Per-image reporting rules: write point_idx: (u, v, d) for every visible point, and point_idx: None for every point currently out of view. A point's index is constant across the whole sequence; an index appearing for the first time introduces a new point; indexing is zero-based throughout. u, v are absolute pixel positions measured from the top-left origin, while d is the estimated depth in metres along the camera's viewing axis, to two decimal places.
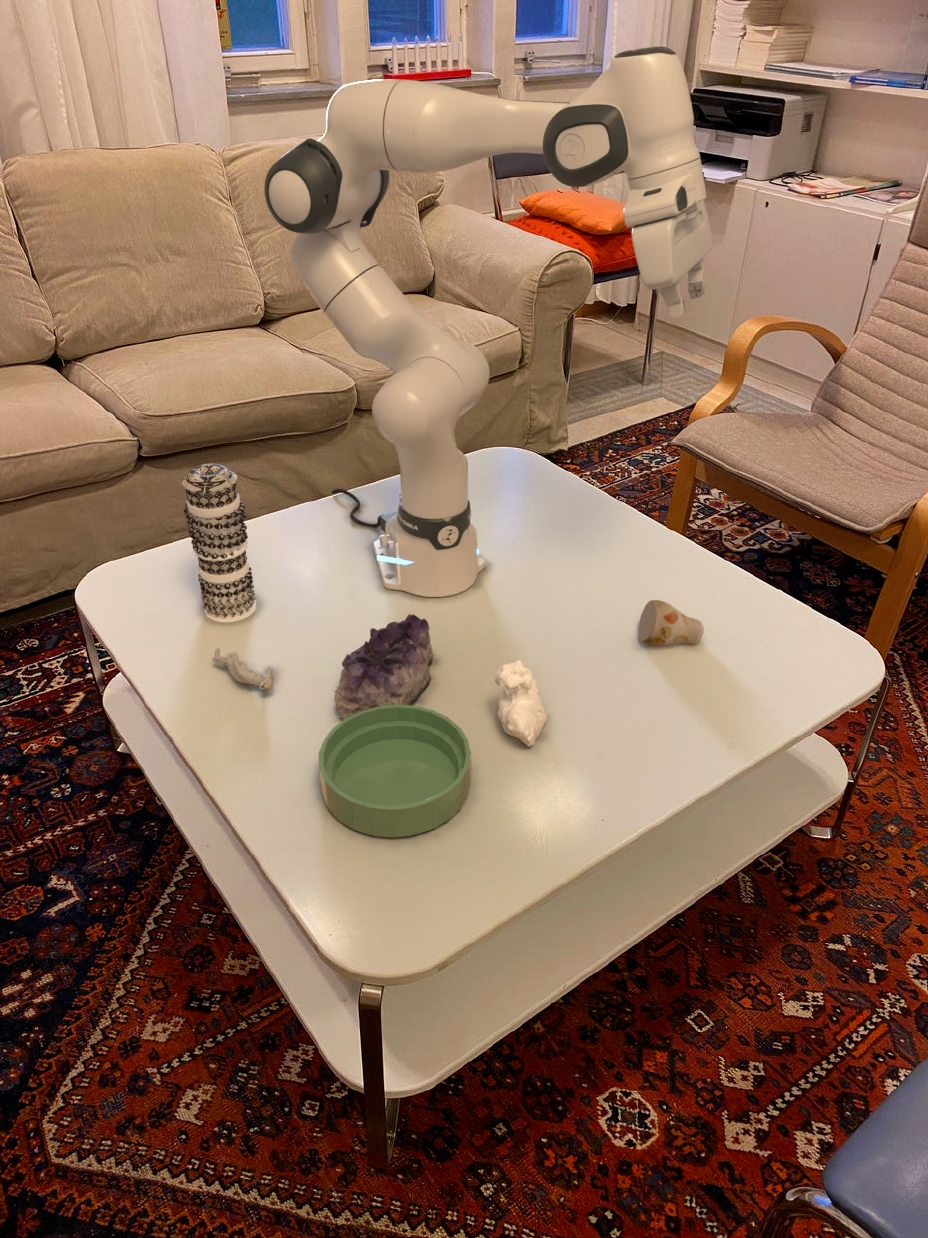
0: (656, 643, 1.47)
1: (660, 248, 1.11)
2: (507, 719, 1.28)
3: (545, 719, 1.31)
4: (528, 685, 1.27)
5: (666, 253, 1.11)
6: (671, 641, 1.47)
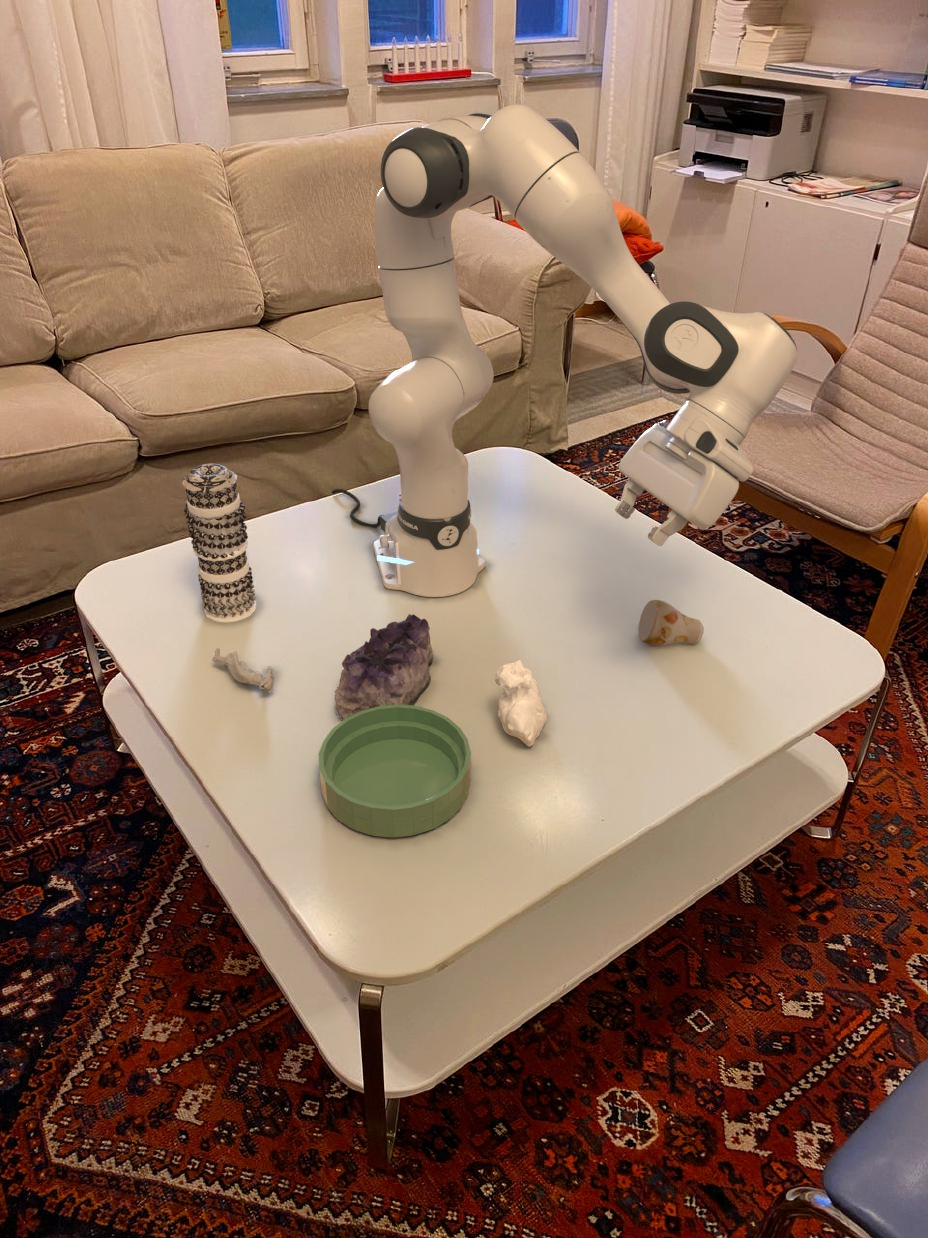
0: (656, 643, 1.47)
1: (724, 499, 1.14)
2: (507, 719, 1.28)
3: (545, 719, 1.31)
4: (528, 685, 1.27)
5: (724, 507, 1.14)
6: (671, 641, 1.47)
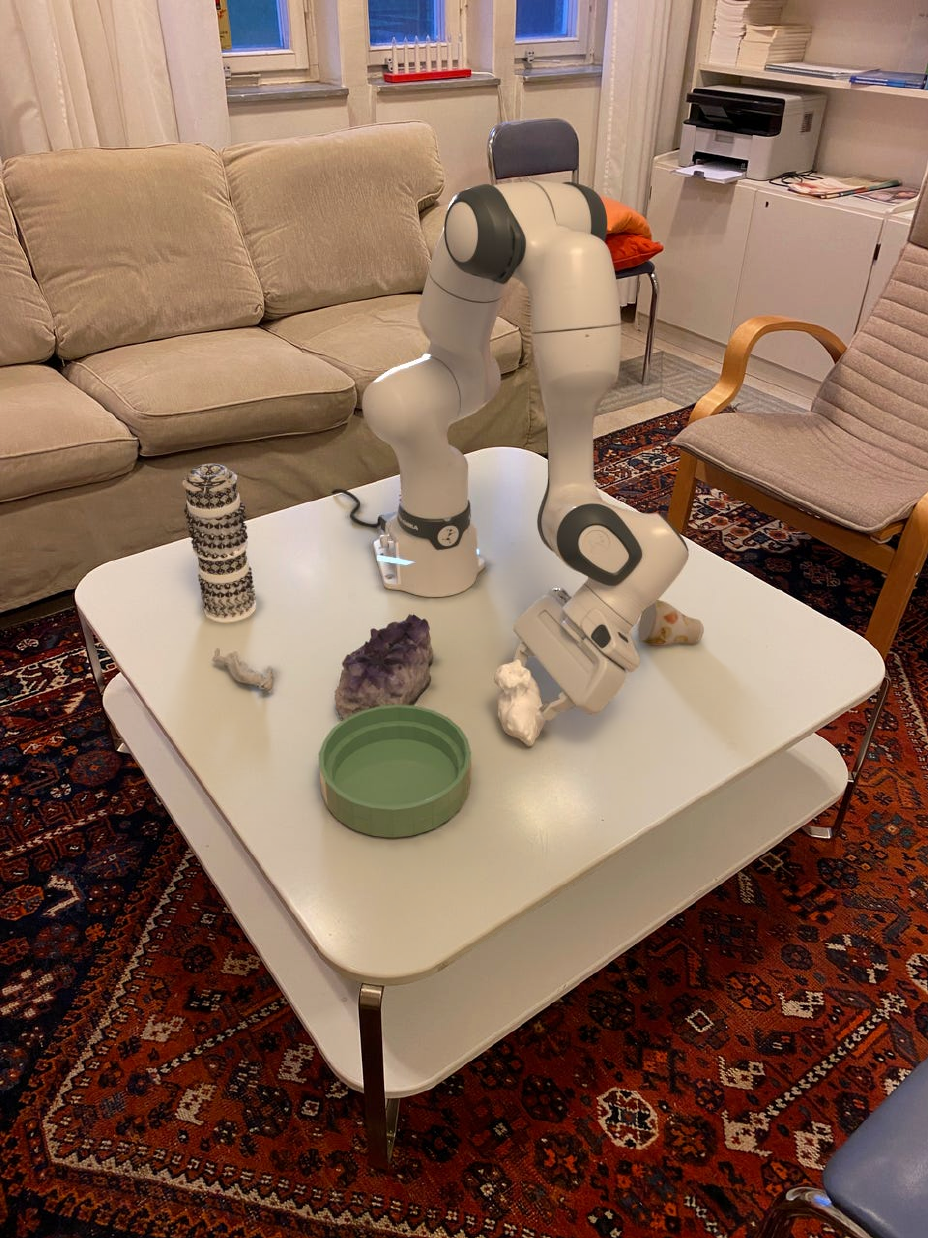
0: (656, 643, 1.47)
1: (612, 690, 1.22)
2: (506, 719, 1.28)
3: (545, 719, 1.31)
4: (527, 685, 1.27)
5: (612, 696, 1.23)
6: (671, 641, 1.47)
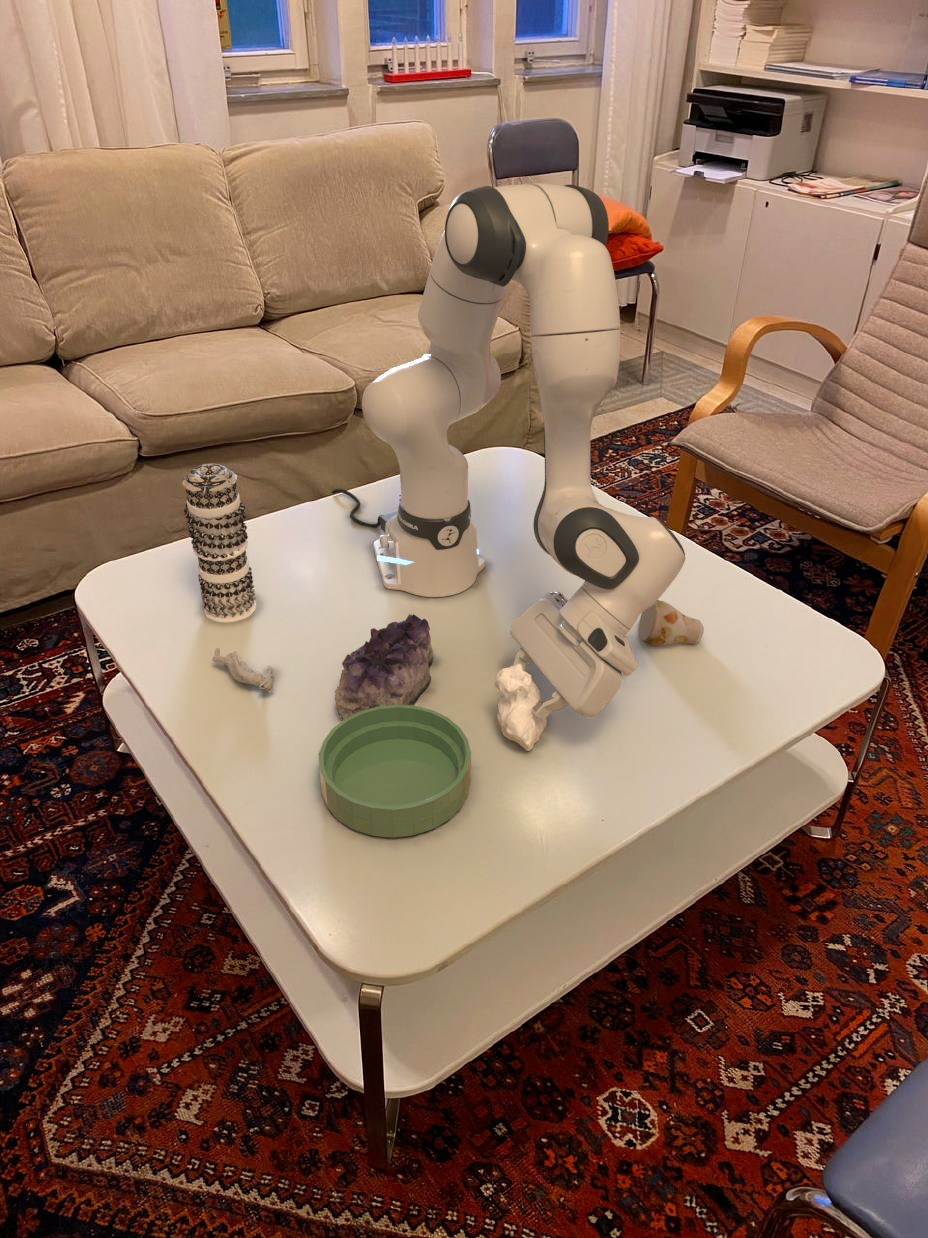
0: (656, 643, 1.47)
1: (609, 693, 1.22)
2: (506, 723, 1.27)
3: (545, 723, 1.31)
4: (527, 689, 1.27)
5: (608, 700, 1.23)
6: (671, 641, 1.47)
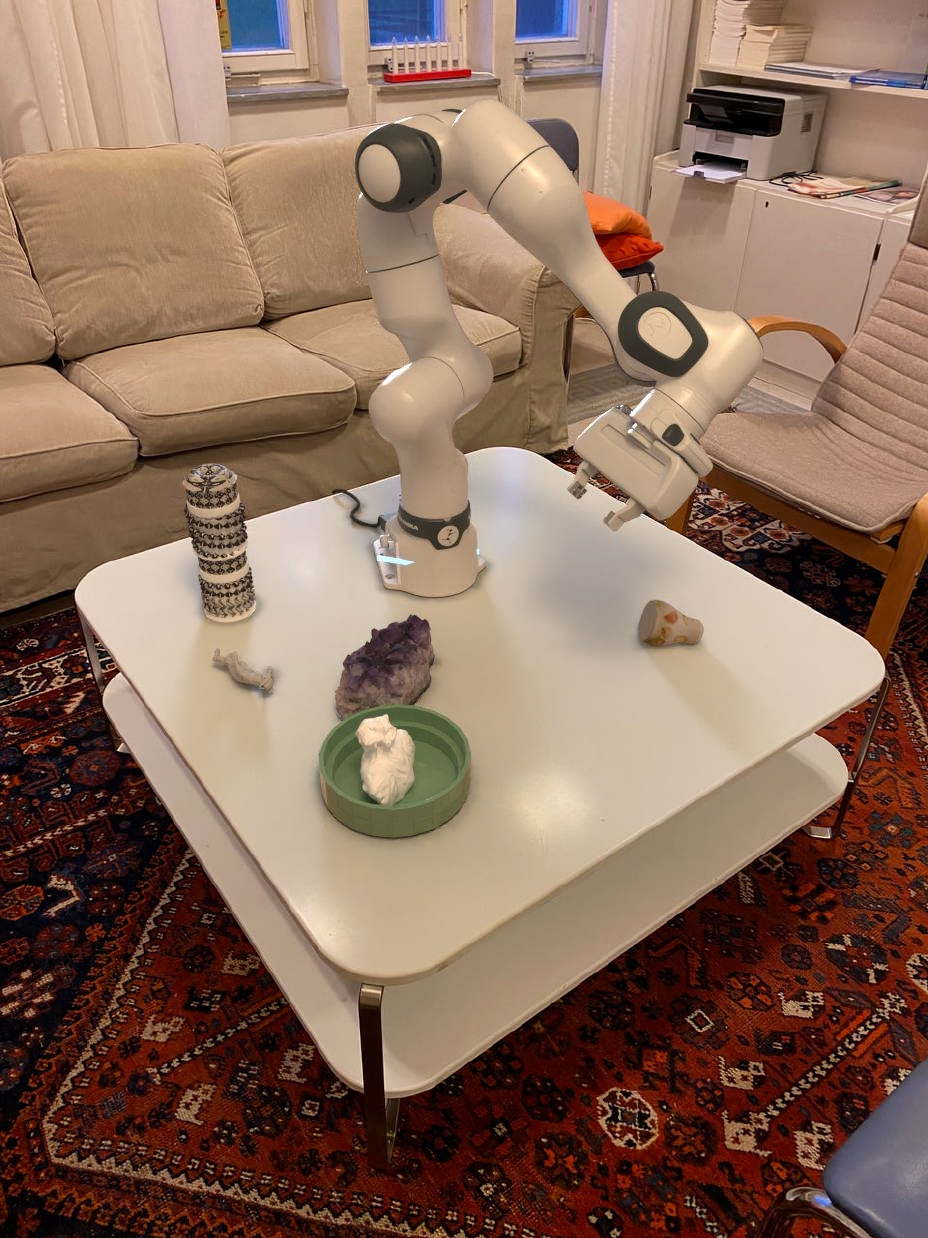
0: (656, 643, 1.47)
1: (684, 493, 1.16)
2: (363, 778, 1.18)
3: (410, 781, 1.21)
4: (387, 744, 1.17)
5: (683, 500, 1.17)
6: (671, 641, 1.47)
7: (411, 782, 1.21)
